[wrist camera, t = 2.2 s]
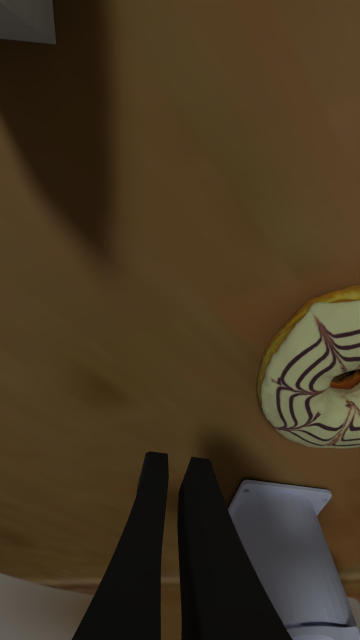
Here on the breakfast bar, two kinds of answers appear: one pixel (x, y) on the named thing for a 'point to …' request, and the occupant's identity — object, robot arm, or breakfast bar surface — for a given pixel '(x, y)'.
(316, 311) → the decorated donut
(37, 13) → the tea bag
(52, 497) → the breakfast bar surface
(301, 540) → the robot arm
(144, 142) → the breakfast bar surface
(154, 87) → the breakfast bar surface
